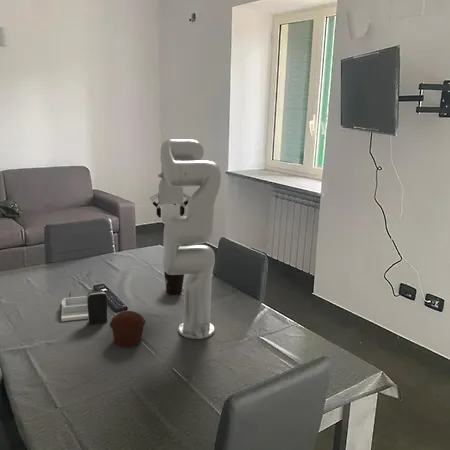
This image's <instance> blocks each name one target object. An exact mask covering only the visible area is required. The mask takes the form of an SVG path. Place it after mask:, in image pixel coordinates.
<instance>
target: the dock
mask: <svg viewBox="0 0 450 450" xmlns="http://www.w3.org/2000/svg"><path fill="white" fill-rule="evenodd" d="M69 293H70V295H69V297H63V299H62V300H61V317H60V319H61V320H60V321H61V322H67V321H77V320H88V309H87V295H85V296H84V295H83V296H73V290H71V291H70V292H69Z"/></svg>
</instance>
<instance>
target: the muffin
mask: <svg viewBox="0 0 450 450" xmlns="http://www.w3.org/2000/svg"><path fill="white" fill-rule="evenodd" d="M146 323H147V322H146V320H145V318H144V316H142V314H141V313H139V312H136V311H133V310H125V311H121V312H118V314H115V315H114V316H113V317H112V319H111V321H109V327H111V331H112V335H113V340H114V341H113V342H114V344H115V345H116V346H118V347H120V348H132V347H135V346H137V345H139V344H140V343H141V342H142V338H143V332H144V327H145V325H146Z"/></svg>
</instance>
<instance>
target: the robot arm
mask: <svg viewBox="0 0 450 450" xmlns="http://www.w3.org/2000/svg"><path fill="white" fill-rule="evenodd" d="M204 152H205V150H204V147H203V145H202V143H200V142H199V141H197V140H195V139H189V138H187V139H185V138H184V139H181V138H180V139H179V138H178V139H177V138H175V139H174V138H173V139H172V138H171V139H170V138H169V139H166V140H164V141H163V142H162V144H161V147H160V163H161V173H158V174H157V176H158V178H160V179H159V184H158V193H156V194H154V195H152V196H150V197H149V199H150V201H151V204H152V205H153V206H155V207H156V216H157V217H158V218H161V217H162V209H161V207H162V205H180V206H179V215H175V216H173V215H172V216H171V217H168V218H167V219H166V220H165V223H164V227H163V240H162V241H163V247H162V266H163V271H164V270H165V272H166V273H167V274H169V275H182V274H184V275H187V276H186V279H185V280H184V282H183V297H182V298H183V300H182V302H183V306H182V307H183V308H182V309H183V311H182V312H183V313H182V314H183V315H182V317H183V318H182V323H181V324H179V326H178V332H179V334H180V335H181V336H183V337H184V338H187V339H193V340H201V339H207V338H209V337H211V336H212V335H213V334H214V333H215V326H214V324H212V323H211V310H212V309H211V304H212V302H211V301H212V298H211V297H212V282H213V281H212V279H213V278H212V277H213V272H214V267H215V261H216V260H215V258H216V256H215V255H216V254H215V251H214V249H213V248H212V247H211V246H210V245H209V246H208V245H207V244H206V243H208V242H210V240H211V238H212V236H213V235H212V234H213V228H214V227H213V226H214V225H213V223H214V209H215V202H216V200H217V196H218V193H219V191H220V187H221V181H222V176H221V175H222V173H221V167H220V166H219V164H217V163H216V162H214V161H210V160H202V159H203V158H204ZM187 187H188V188H191V187H198V188H197V189H196V190H194V192H193V194H192V195H191V196H190V195H188V194H186V193H184V188H187ZM184 198H186V199H185V201H184ZM156 199H158V201H157V202H156V201H155V200H156ZM186 206H187V213H186V214H185V208H186Z"/></svg>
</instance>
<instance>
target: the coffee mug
mask: <svg viewBox="0 0 450 450" xmlns="http://www.w3.org/2000/svg"><path fill="white" fill-rule="evenodd" d="M163 273H164V274H163V275H164V282H165V290H166V295H168V296H179V295H181V294H182V293H183V287H184V279H185V278H184V277H185V274H182V275H169V274H167V273H166V272H165V270H164V269H163Z"/></svg>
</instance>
